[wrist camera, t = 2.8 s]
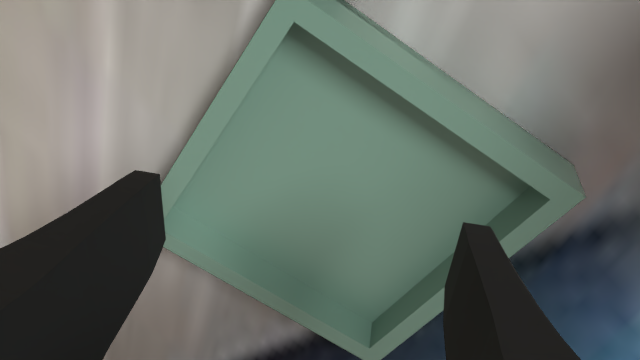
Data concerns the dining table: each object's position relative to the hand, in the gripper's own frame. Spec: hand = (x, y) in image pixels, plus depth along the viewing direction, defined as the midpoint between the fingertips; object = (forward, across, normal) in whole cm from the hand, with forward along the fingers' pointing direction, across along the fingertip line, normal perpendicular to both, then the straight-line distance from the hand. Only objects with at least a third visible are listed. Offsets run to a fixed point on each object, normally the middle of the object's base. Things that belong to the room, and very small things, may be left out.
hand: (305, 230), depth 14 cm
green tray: (+8, 0, +4) cm, 10 cm away
